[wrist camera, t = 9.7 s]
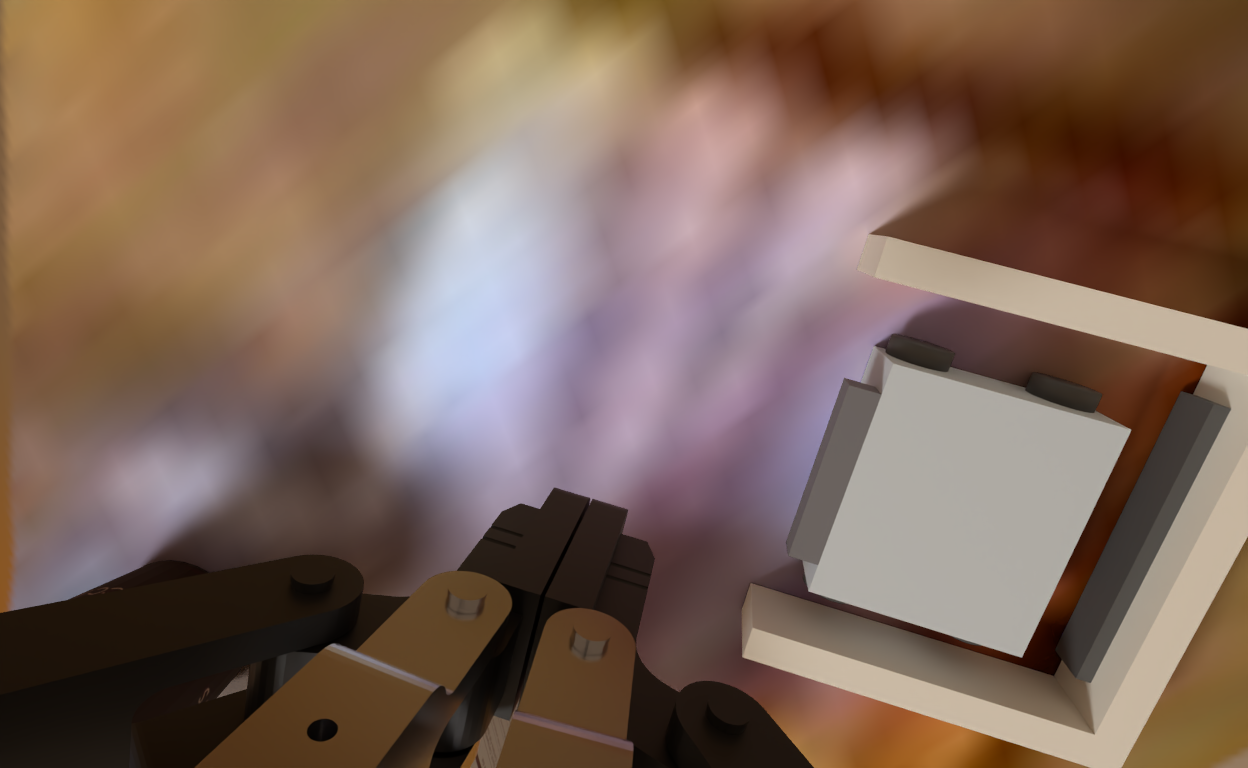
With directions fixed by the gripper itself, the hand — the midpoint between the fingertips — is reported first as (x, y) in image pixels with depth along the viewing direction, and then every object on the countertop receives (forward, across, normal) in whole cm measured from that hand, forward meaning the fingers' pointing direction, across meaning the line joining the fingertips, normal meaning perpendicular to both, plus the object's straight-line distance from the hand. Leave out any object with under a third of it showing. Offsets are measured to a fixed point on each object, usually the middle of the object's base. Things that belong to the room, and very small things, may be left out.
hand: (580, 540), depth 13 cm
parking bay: (+12, -12, 0) cm, 17 cm away
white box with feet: (+12, -10, +1) cm, 16 cm away
